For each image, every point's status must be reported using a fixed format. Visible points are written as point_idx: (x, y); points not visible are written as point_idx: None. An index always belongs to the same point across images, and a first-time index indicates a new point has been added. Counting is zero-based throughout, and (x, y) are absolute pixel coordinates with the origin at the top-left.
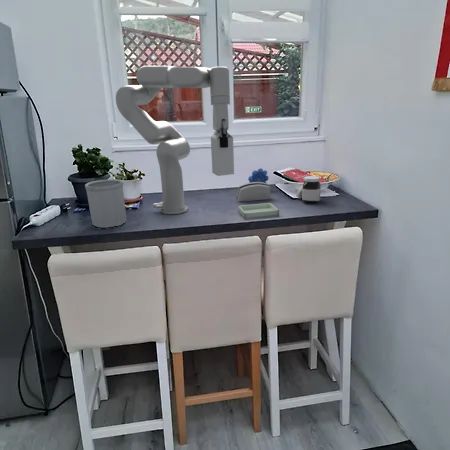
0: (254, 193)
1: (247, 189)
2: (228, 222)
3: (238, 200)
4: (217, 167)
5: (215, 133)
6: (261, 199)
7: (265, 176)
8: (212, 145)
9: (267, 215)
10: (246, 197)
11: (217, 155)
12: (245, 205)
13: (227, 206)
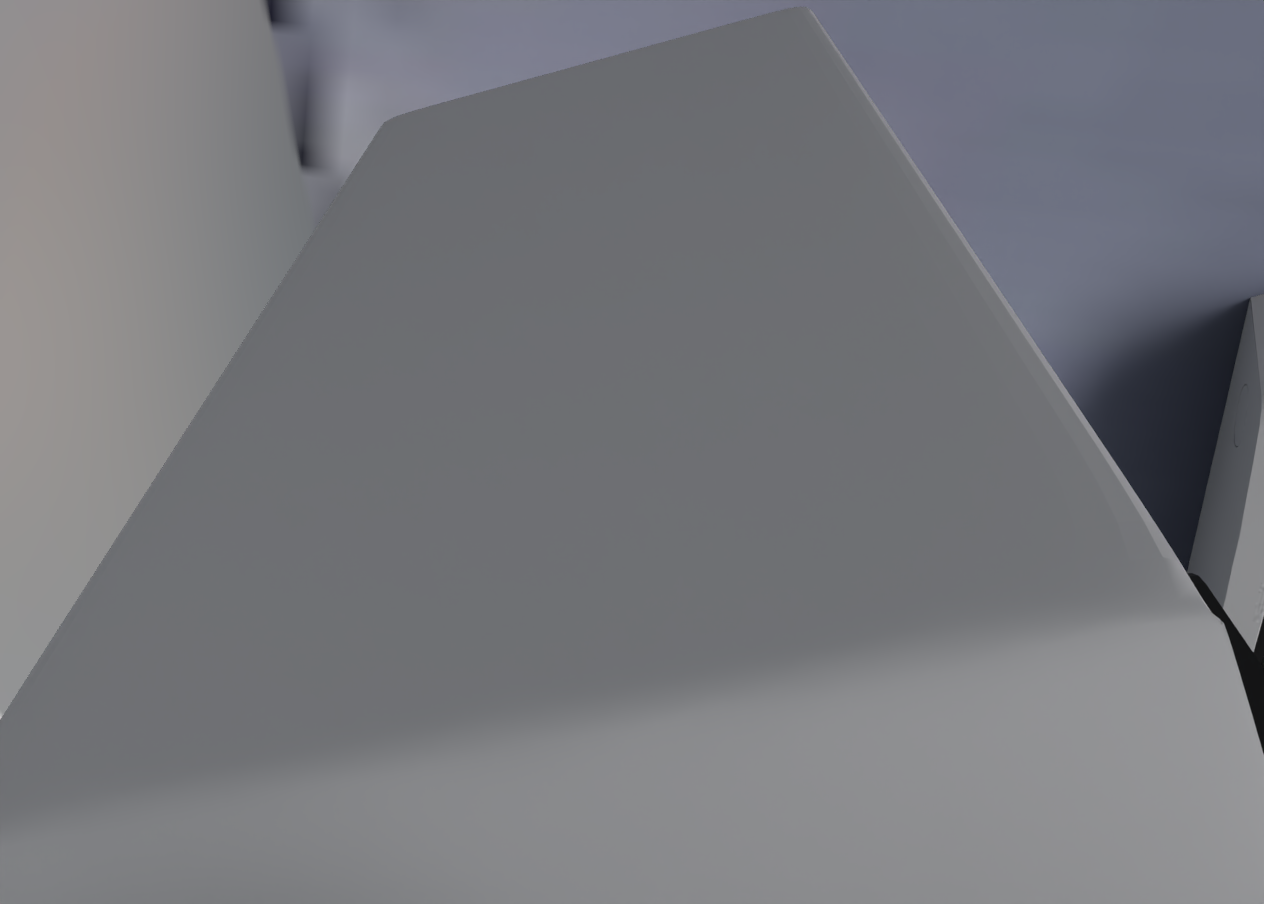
0: (1212, 543)
1: (1240, 499)
2: (350, 56)
3: (1250, 307)
4: (349, 185)
5: None
6: (1189, 565)
7: None
8: (755, 378)
9: None
10: (1231, 424)
11: (242, 354)
12: None
13: (1079, 124)
